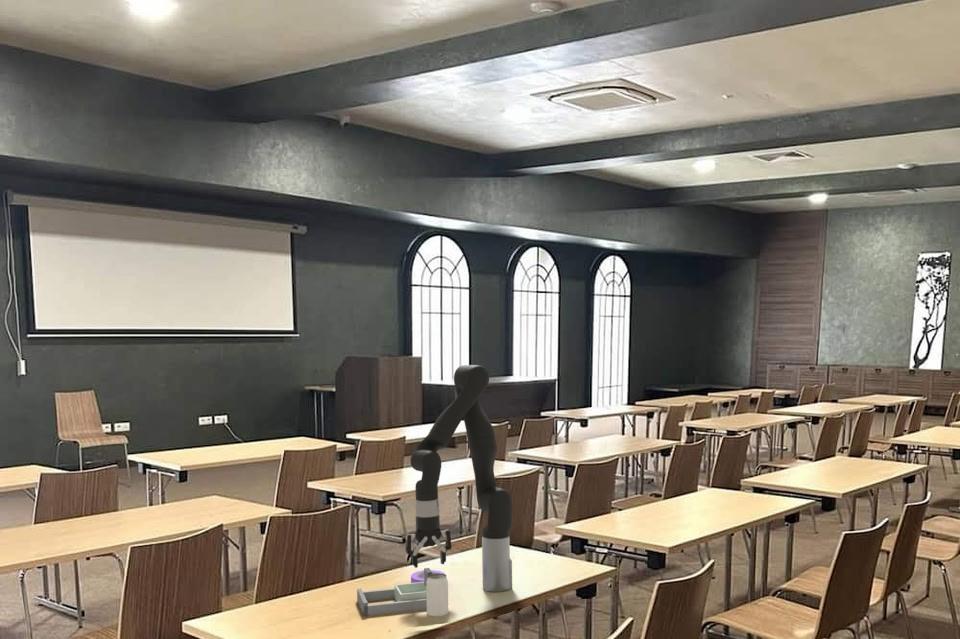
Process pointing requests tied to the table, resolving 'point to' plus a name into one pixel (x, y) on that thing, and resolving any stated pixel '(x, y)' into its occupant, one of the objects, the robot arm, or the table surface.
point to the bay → (386, 607)
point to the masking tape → (421, 576)
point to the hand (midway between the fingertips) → (429, 565)
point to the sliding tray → (412, 589)
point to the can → (437, 594)
